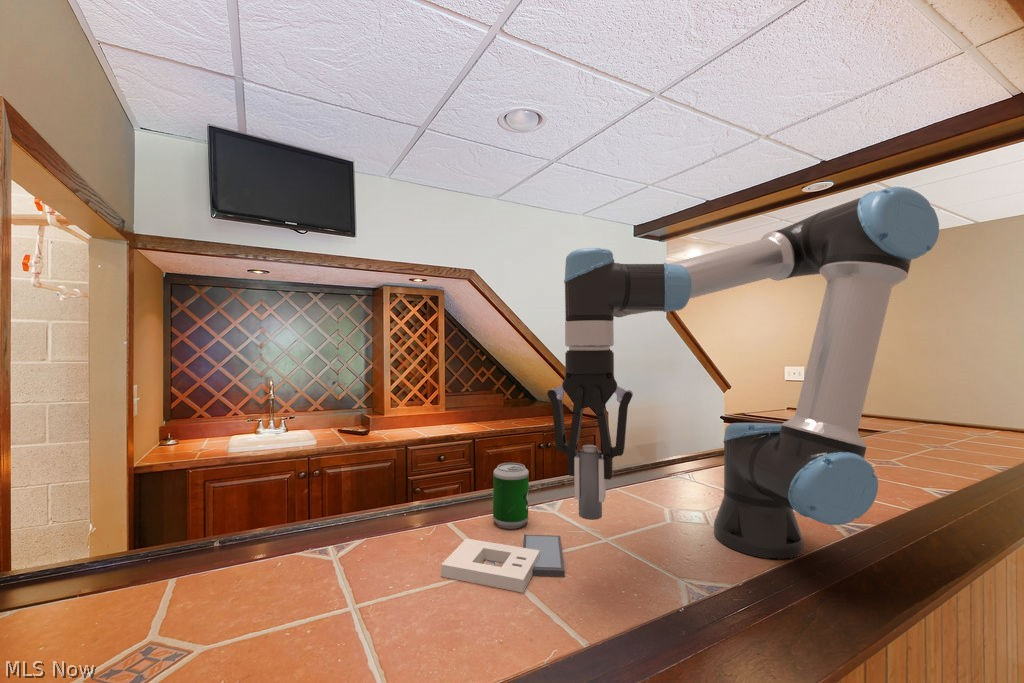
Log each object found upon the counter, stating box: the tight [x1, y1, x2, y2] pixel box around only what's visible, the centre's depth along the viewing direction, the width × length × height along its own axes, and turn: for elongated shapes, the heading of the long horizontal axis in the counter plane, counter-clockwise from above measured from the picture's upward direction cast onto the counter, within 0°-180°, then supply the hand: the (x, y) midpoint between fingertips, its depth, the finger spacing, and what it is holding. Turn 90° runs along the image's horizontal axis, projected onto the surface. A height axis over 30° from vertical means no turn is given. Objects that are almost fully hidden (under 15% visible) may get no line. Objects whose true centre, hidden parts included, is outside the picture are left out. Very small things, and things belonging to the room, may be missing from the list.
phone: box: [522, 534, 565, 578], centre depth 79 cm, size 7×13×1 cm, turn 177°
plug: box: [577, 444, 603, 521], centre depth 69 cm, size 4×4×11 cm
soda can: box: [492, 462, 530, 530], centre depth 93 cm, size 8×8×12 cm
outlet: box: [440, 538, 540, 594], centre depth 74 cm, size 14×10×2 cm
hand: (590, 497), depth 69 cm, fingers closed on plug, 3 cm apart
